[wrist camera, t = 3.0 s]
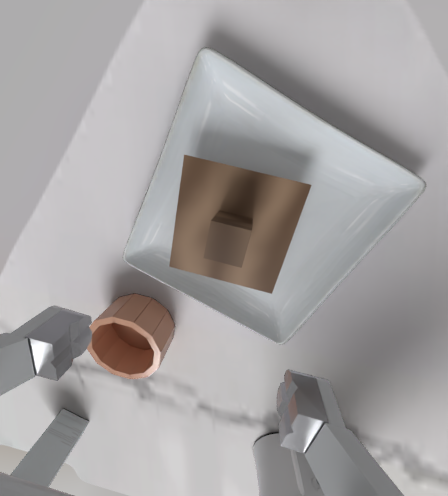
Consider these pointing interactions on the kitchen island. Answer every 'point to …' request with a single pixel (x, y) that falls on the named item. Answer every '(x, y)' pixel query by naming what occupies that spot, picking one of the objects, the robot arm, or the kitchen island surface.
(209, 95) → the square plate
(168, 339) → the terracotta bowl
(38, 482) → the supplement box
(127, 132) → the kitchen island surface
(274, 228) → the walnut lid
